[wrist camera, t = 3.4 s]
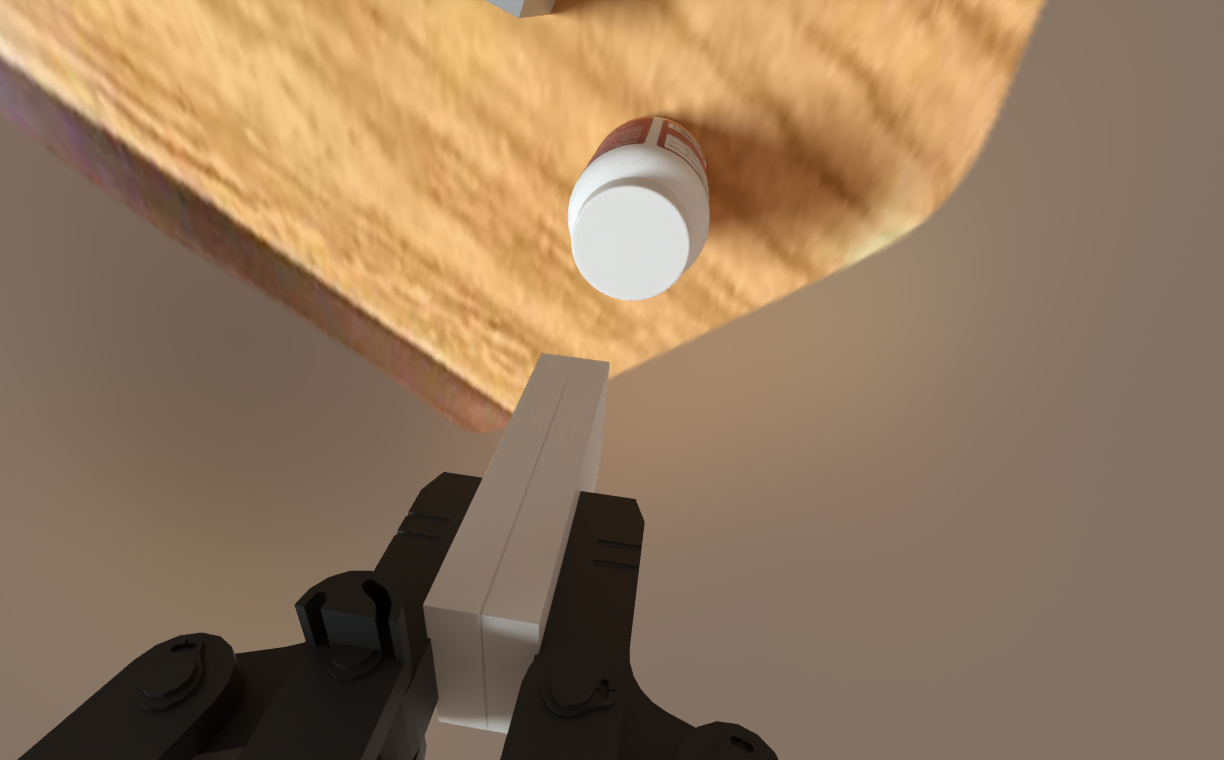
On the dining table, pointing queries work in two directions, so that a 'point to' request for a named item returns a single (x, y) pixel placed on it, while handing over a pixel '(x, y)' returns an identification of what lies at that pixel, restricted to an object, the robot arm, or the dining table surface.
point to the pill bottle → (640, 209)
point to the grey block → (525, 7)
